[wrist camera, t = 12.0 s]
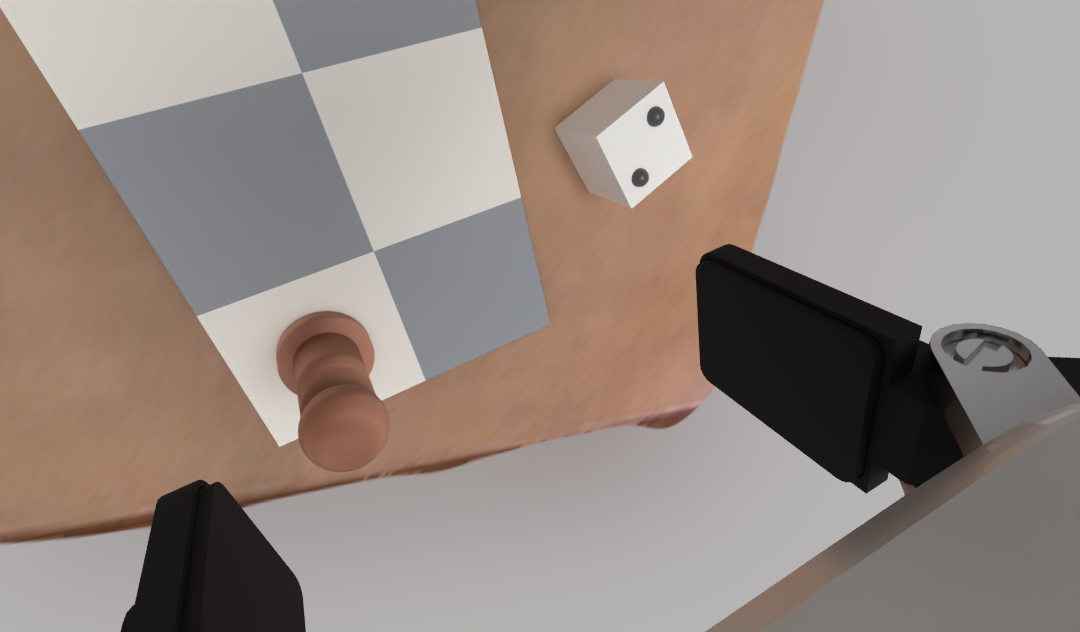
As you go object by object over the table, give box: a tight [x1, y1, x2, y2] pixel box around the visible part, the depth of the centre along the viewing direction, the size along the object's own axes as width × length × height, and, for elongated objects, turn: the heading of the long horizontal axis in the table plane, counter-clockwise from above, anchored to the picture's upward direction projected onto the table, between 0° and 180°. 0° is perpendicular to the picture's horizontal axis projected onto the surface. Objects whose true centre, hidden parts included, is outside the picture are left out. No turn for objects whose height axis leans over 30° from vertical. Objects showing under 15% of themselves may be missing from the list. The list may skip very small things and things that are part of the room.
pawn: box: [276, 311, 389, 472], centre depth 27 cm, size 5×5×10 cm
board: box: [0, 0, 550, 447], centre depth 28 cm, size 19×28×1 cm, turn 13°
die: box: [554, 79, 692, 209], centre depth 32 cm, size 5×5×6 cm
